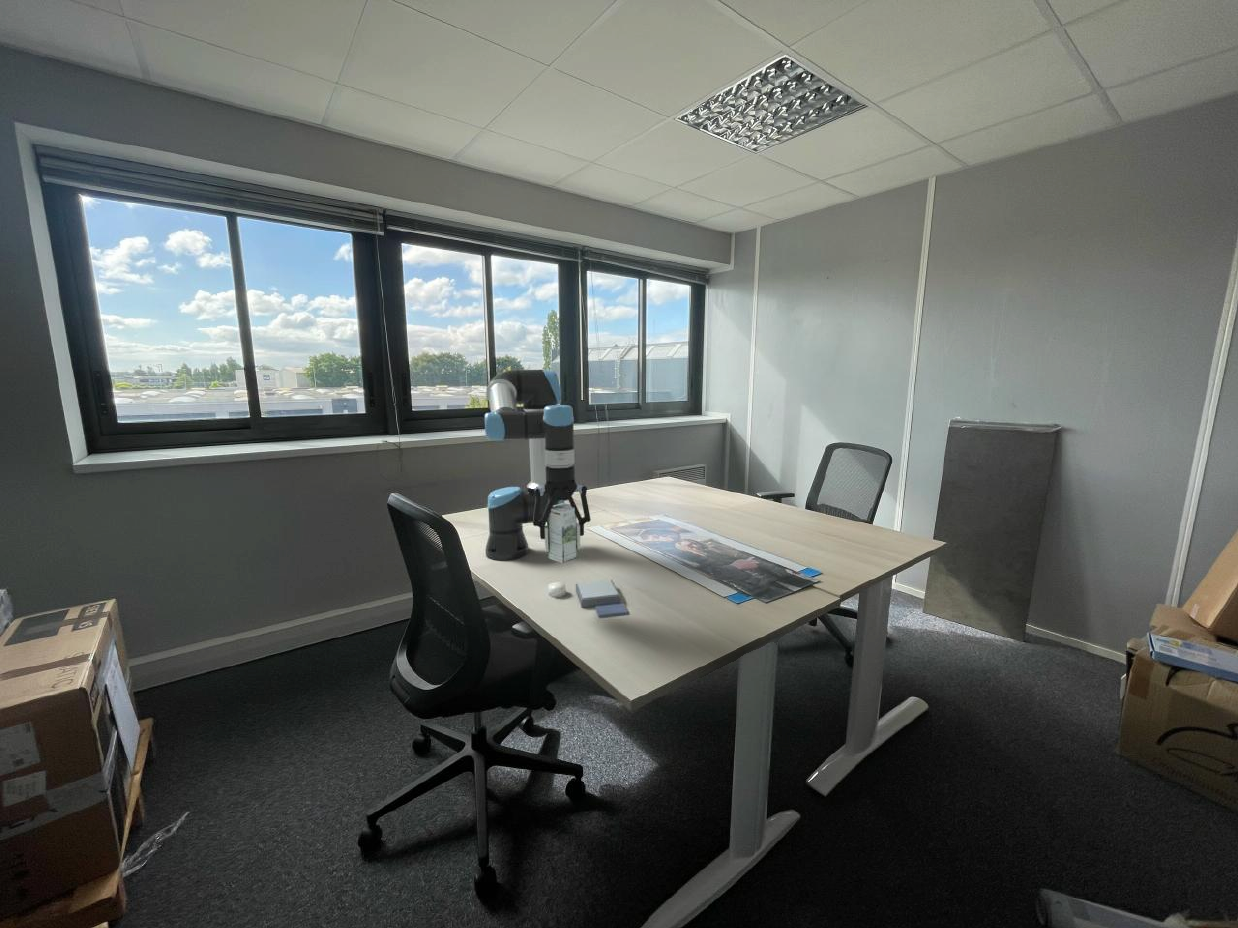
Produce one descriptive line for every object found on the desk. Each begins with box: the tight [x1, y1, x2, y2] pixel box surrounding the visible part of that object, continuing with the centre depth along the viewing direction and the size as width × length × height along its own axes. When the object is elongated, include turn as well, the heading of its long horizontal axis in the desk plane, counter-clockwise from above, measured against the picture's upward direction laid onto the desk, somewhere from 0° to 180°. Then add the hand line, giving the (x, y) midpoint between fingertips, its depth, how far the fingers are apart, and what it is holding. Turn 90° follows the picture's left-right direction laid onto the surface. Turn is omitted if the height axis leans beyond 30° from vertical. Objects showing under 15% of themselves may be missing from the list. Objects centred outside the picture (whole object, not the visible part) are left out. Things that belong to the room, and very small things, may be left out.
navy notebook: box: [594, 602, 629, 618], centre depth 130 cm, size 5×8×1 cm, turn 103°
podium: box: [575, 579, 622, 608], centre depth 139 cm, size 11×11×2 cm
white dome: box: [547, 581, 567, 599], centre depth 141 cm, size 5×5×2 cm
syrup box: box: [546, 502, 578, 564], centre depth 129 cm, size 6×6×14 cm
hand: (562, 548), depth 130 cm, fingers closed on syrup box, 8 cm apart
